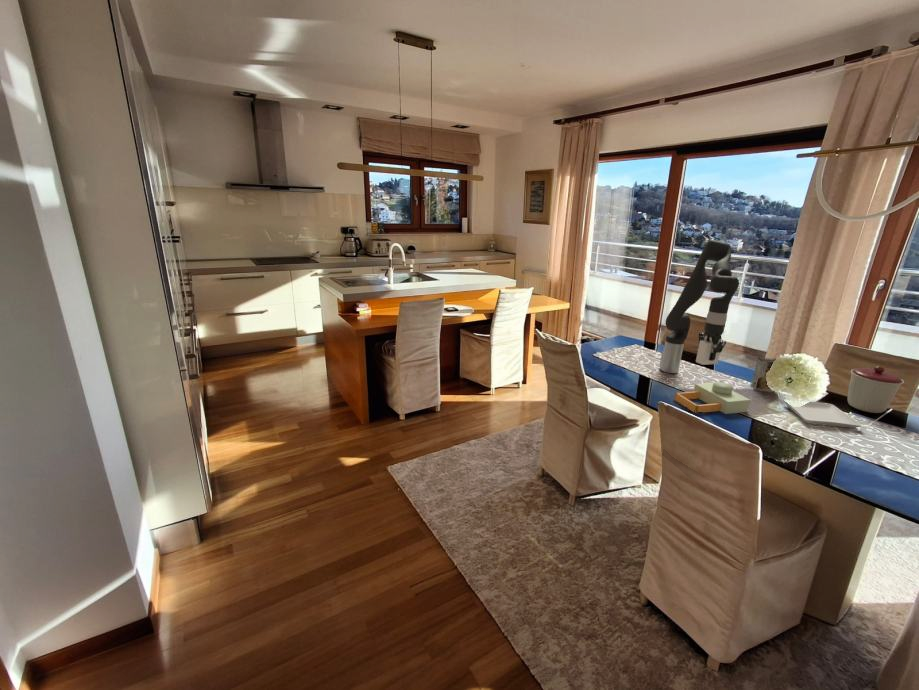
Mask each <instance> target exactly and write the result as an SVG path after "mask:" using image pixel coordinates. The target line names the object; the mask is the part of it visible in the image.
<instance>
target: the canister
mask: <svg viewBox="0 0 919 690" xmlns="http://www.w3.org/2000/svg"><path fill="white" fill-rule="evenodd" d="M850 373H851V376H850V381H849V386H848V392H847V403H848V405H849V406H850V407H852V408H854V409H856V410H859V411H862V412H867V413H871V414H882V413H884V412H885V411H886V410H887V409H888V408H889V406H890V404H891V403H892V401H893V400H894V398H895V397H896V394H897V393H898V391H899V389H900V387H901V386H902V385H903V384H904V383H905V381H904V379H902V378H901V377H900V376H898V375H897V374H894V373H891V372H889V371H886V370H885V368H884V367H883V366H881V365H876V366H874V367H873V368H869V367H857V368H852V369H851V370H850Z"/></svg>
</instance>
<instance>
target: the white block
mask: <svg viewBox="0 0 919 690" xmlns="http://www.w3.org/2000/svg"><path fill="white" fill-rule="evenodd" d="M716 345H717V344H716ZM716 345H713V346H716ZM714 350H715V347H714ZM710 353H711V343H710V342H708V341H705V340H704V341H700V344H699V343H698V349H697V353H696V359H695V362H696V363H697V364H700V365H702V366H703V365H718V362H719V359H720V355H721V353H716V357H715V360H713V361H710V360H709V357H710Z"/></svg>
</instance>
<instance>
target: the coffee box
mask: <svg viewBox="0 0 919 690" xmlns="http://www.w3.org/2000/svg"><path fill="white" fill-rule="evenodd" d="M776 359H777V358H775V357H774V358H773V357H762V356H761V357H760V356H758V357H757V360H756V364H755V368H754V372H753V375H752V376H753V377H752V380H751V384H750V386H751V387H752V389H753V390H754V391H759V392H767V393H768V392H769V393H774V392H773V391H772V390H771V389H770V388H769V387H768V385H767V381H766V373H767V372H768V371H769V370H770V368H771V366H772V364H773V362H774V361H775V360H776Z"/></svg>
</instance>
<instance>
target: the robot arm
mask: <svg viewBox="0 0 919 690" xmlns="http://www.w3.org/2000/svg"><path fill="white" fill-rule="evenodd" d="M699 255H700V256H699V258H698V260H697V262H696V264H695V267H694V269H693V271H692V273H691V274H690V276H689V278H688V280H687V281H686V283H685V285H684V287H683V289H682V292H681V293H680V295H679V297H678V299H677V301H676V302H675V304H674V306H673V307H672V308H671V311H669V313H668V314H667V316H666V319H665V327H666V329H667V330H669V331H672V332H671V333H669V334H667V335H666V337H665V341H664V342H665V343H664V347H663V352H662V353H661V356H660V361H659V362H660V363H659V366H658V368H659V367H660V368H659V370H660V369H661V370H662V371H664V372H663V373H665V372H667V373H666V374H669V373H677V374H678V373H679V369H680V366H681V360H682V355H683V350H684V345H685V342H686V339H687V337H688V333H689V331H690V327H691V317H690V315H689V314H688V313H686V311H688V309H690V308H691V307H693V305H694V304H696V303H697V302H698V301H699V300H700V299H701V298H702V297H703V294H704V293H705V292H706V289H707V287H708V279H707V274H706V263H707V261H708V260H709V261H712V262H715V263H714V264H713V266H712V268H711V273H712V277H711V280H710V282H709V290H711V292H715V293H722V294H724V295H723V296H718V297H716V296H715V297H713V298H711V299H710V302H709V307H708V313H707V315H706V317H705V318H706V319H705V324H704V329H703V331H704V332H699V333H698V345H699V344H700V341H704V340H705V341H708V342H710V343H711V353H710V357H709V360H710V361H713V360H715V357H716V353H720V354H721V352H722V351H724V350H723V349H724V348H725V346H726V344H727V341H726V340H723V339H722V335H723V334H724V333H725V328H726V324H727V319H728V311H729V307H730V303H731V302H732V299H733V297H734V295H735V294H736V292H737V290H738V288H739V287H740V286H739V285H740V280H739V279H738V277H736V276H733V275H732V269H731V260H732V258H731V257H732V245H731V244H730V243H728V242H724V241H719V240H715V239H709V240H708V241H707V242H706V243H705V245H704V246H703V249H702V251H701V253H700V254H699ZM716 344H717V345H716ZM713 345H716V346H713ZM714 347H715V350H714ZM661 370H660V371H661ZM662 371H661V372H662Z"/></svg>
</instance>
